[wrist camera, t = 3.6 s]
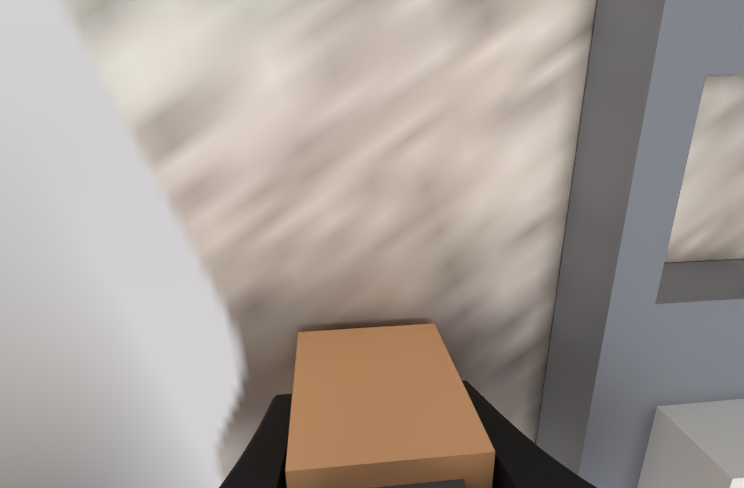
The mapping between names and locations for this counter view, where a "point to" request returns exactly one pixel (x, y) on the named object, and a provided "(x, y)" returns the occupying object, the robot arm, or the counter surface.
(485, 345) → the counter surface
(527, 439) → the robot arm
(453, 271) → the counter surface
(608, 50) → the socket strip
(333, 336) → the orange plug
